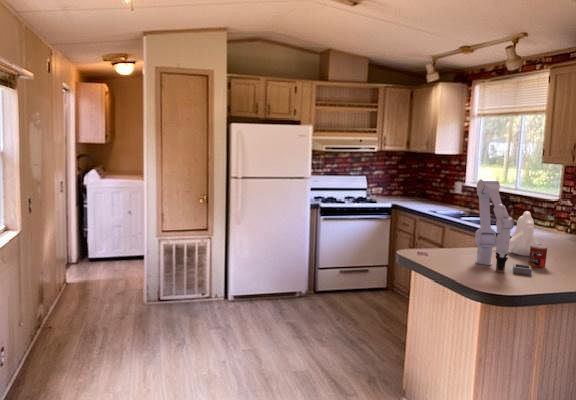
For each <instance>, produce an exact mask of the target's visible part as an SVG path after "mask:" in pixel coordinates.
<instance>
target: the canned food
mask: <svg viewBox="0 0 576 400" xmlns="http://www.w3.org/2000/svg"><path fill="white" fill-rule="evenodd" d="M547 253H548V247H547V245H541V244H538V245H535V244H534V245H531V246H530V255H529V258H528V265H529V266H531V268H535V269H545V267H546V261H547V256H548V255H547Z"/></svg>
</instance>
